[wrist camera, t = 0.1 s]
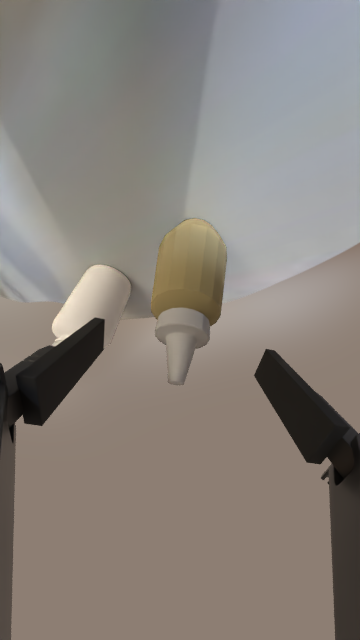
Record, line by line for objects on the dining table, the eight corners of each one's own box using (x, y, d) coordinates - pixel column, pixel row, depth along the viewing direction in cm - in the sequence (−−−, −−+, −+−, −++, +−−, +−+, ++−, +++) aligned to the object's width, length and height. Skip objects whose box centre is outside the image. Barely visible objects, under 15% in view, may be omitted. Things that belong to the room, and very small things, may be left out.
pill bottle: (98, 253, 26) (42, 342, 17) (140, 284, 30) (112, 367, 22) (79, 277, 30) (29, 355, 22) (118, 301, 35) (88, 373, 27)
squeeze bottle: (180, 272, 27) (158, 393, 17) (151, 224, 21) (93, 366, 11) (232, 256, 23) (243, 397, 13) (215, 192, 17) (213, 360, 8)
